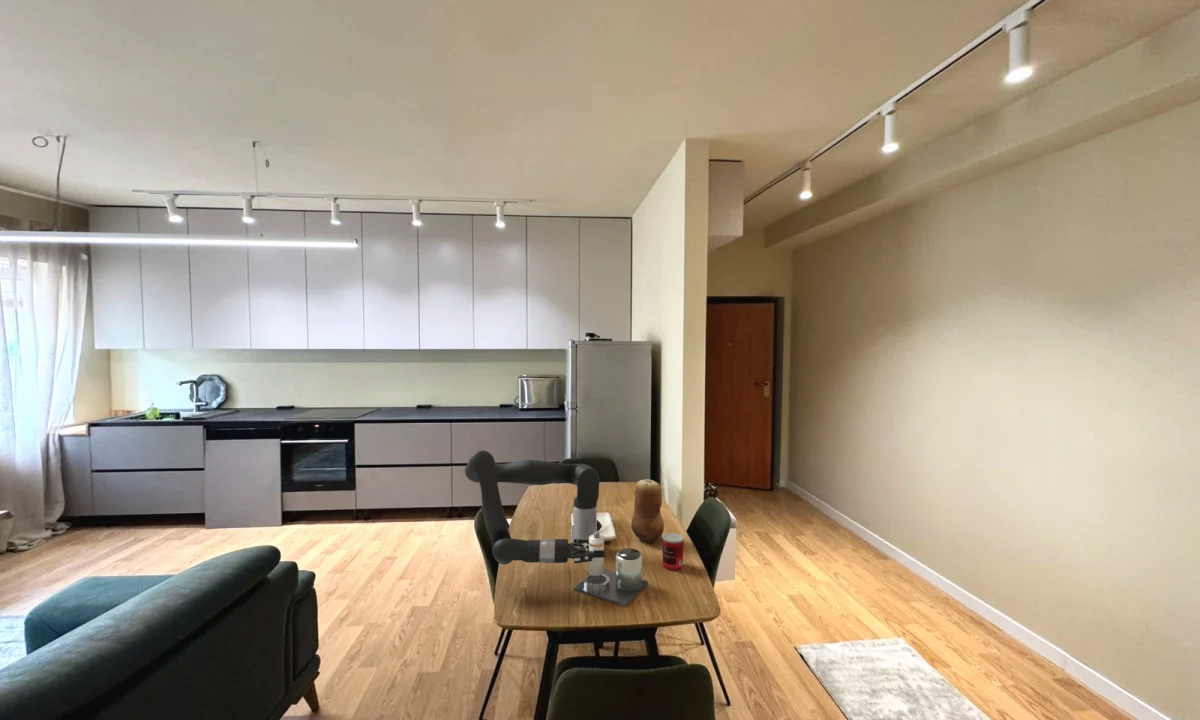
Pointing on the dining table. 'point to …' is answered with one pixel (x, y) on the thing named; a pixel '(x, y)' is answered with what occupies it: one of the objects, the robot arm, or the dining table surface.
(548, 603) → the dining table surface
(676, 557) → the canned food
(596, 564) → the bottle
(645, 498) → the butternut squash
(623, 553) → the grey tray with jar
